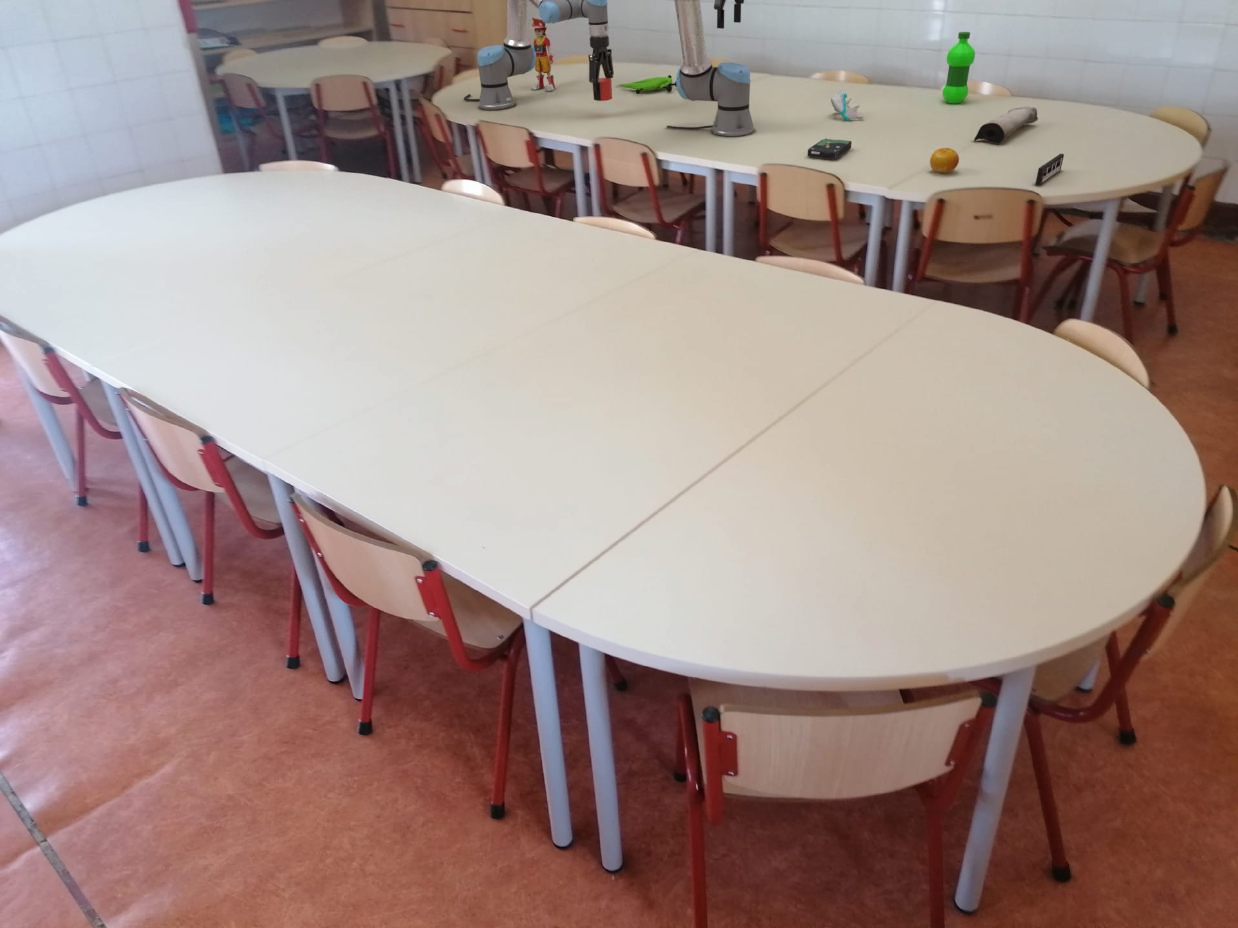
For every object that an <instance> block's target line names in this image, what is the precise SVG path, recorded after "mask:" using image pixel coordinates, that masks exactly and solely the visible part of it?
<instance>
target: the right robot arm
mask: <svg viewBox="0 0 1238 928" xmlns="http://www.w3.org/2000/svg"><path fill="white" fill-rule="evenodd" d="M726 2H727V0H714V4H713V10H716V29H725V9H724V8H725V5H726ZM744 3H745V0H734V4H733V23H738V24H740V23H741V22H742V4H743V5H744ZM674 6H675V13H676V20H677V21H676V22H677V28H678V34H679V35H678V36H679V40H680V47H681V54H682V62H680V65H679V68H678V69H677V72H676V76H675V78H676V80H675V82H676V85H677V87H676V89H677V93H678V94H679V96H680V98H681V99H683V100H686V101H692V102H696V101H698V102H700V101H702V102H717V111H716V114H715V118H714V120H713V124H710V125H703V126H702V125H701V126H675V125H666V128H667V129H674V130H675V129H677V130H701V129H703V130H704V129H709V128H712V133H713V134H715V135H717V136H721V137H741V136H746V135H750V134H752V133H754V122H753V118H752V115H751V111H750V94H751V93H750V92H751V71H750V68H749V67H748V66H747V65H744V64H742V63H738V62H725V61H724V62H720V63H719V64H718V65H717V66H713V62H712V59H711V58H710V57H709V56H708V55H707V49H706V48H707V47H706V41H705V40H706V39H705V32H704V24H703V14H702V6H701V0H674Z"/></svg>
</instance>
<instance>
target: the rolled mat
mask: <svg viewBox="0 0 1238 928" xmlns="http://www.w3.org/2000/svg"><path fill="white" fill-rule="evenodd" d="M1038 120H1039V117H1038V110H1037V108H1036V107H1031V106H1021V107H1015V108H1014V107H1013V108H1011V109H1009V110H1008V111H1007V112H1006V113H1004V114H1002V115H1000V116H997V117H996V118H994V119H991V120H989V121H988V122H986V123H984V124H982V125H981V126H980V128H979V129H978V130H977V133H976V135H975V136H974V139H973V141H974V142H976V141H979V140H984V141H986V142H987V143H990V144H995V145H1001V144H1002V143H1003V142H1004V141H1005V140H1006V139H1007V138H1009V136H1010V135H1011V134H1012V133H1014V132H1015V131H1016V130H1018V129H1019V128H1020V127H1022V126H1023V125H1027V124H1034V123H1036V122H1037V121H1038Z"/></svg>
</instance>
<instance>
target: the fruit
mask: <svg viewBox="0 0 1238 928" xmlns="http://www.w3.org/2000/svg"><path fill="white" fill-rule="evenodd" d="M959 163H960V156H959V154H958V152H957V151H956V150H955V149H953V148H951V147H942V148H938V149H936V150H934V151H933V153H932V154H931V155H930V159H929V166H930V168H931V169H932V170H933V171H934V172H936V173H939V174H940V173H943V174H944V173H945V174H946V173H951V172H953V171H954V170H956V168H957V167H958V165H959Z"/></svg>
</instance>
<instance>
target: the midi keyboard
mask: <svg viewBox="0 0 1238 928" xmlns="http://www.w3.org/2000/svg"><path fill="white" fill-rule="evenodd" d="M1064 157H1065V153H1059V154H1058V155H1056V156H1055V157H1052V159H1051V160H1049V161H1047V162H1045V164H1042V165H1041V166H1039V167H1038V169H1037V175H1036V179H1035V186H1040V185H1042V183H1044V182H1045V181H1047V180H1048V179H1049V178H1051V177H1052V176H1054V175H1055V174H1056V173H1058V172H1060V171H1061V170H1062V165H1063V161H1064Z"/></svg>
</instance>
